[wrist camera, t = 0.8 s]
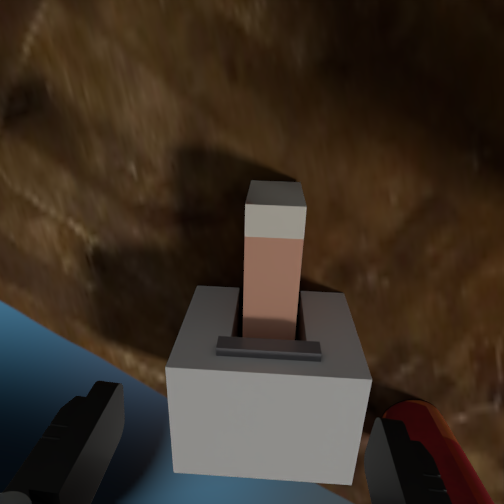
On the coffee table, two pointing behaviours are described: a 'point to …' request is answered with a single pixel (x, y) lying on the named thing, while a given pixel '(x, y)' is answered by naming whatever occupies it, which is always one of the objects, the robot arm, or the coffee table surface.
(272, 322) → the pink white-banded pillar
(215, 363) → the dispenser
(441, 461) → the paper cup
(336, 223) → the coffee table surface
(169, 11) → the coffee table surface
